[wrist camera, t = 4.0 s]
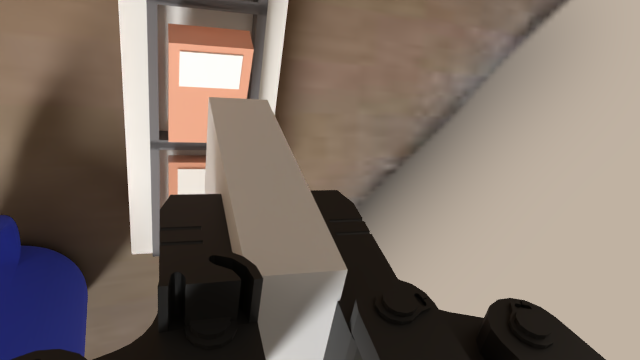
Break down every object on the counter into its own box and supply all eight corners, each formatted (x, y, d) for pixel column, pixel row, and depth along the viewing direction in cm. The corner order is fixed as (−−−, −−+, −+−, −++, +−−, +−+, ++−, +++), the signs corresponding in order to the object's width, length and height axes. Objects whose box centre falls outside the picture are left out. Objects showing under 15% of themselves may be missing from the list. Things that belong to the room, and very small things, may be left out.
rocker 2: (168, 23, 19) (168, 43, 18) (249, 30, 20) (253, 50, 19) (167, 121, 22) (168, 143, 21) (237, 123, 23) (240, 144, 22)
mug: (86, 170, 27) (54, 295, 19) (106, 317, 33) (89, 458, 25) (-87, 174, 25) (-206, 319, 17) (-30, 332, 31) (-98, 494, 23)
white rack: (115, -226, 19) (101, -256, 14) (285, -185, 21) (319, -200, 17) (135, 207, 29) (130, 266, 25) (247, 204, 32) (261, 258, 27)
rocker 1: (168, 155, 23) (168, 162, 22) (234, 155, 24) (238, 163, 23) (168, 249, 24) (169, 262, 23) (231, 246, 25) (235, 258, 24)
